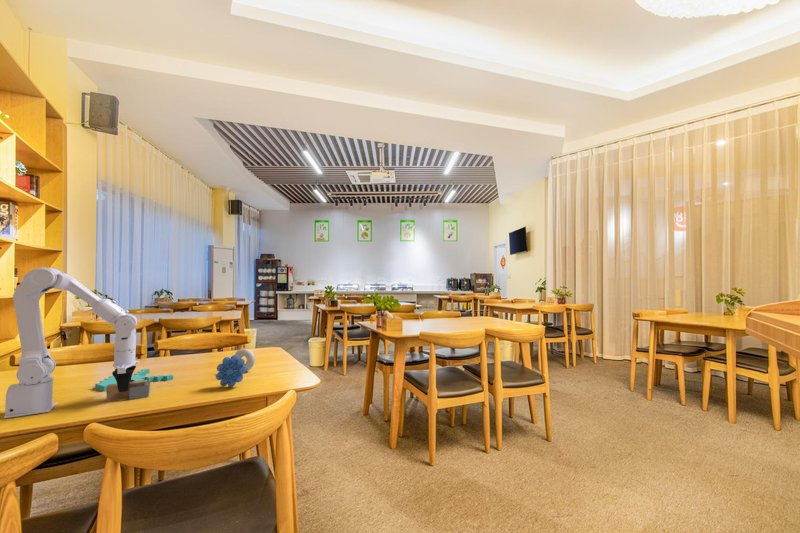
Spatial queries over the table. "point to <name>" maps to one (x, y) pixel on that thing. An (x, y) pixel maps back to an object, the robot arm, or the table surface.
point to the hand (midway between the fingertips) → (123, 390)
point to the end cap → (139, 391)
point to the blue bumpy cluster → (231, 371)
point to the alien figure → (133, 379)
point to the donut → (248, 355)
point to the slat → (116, 395)
